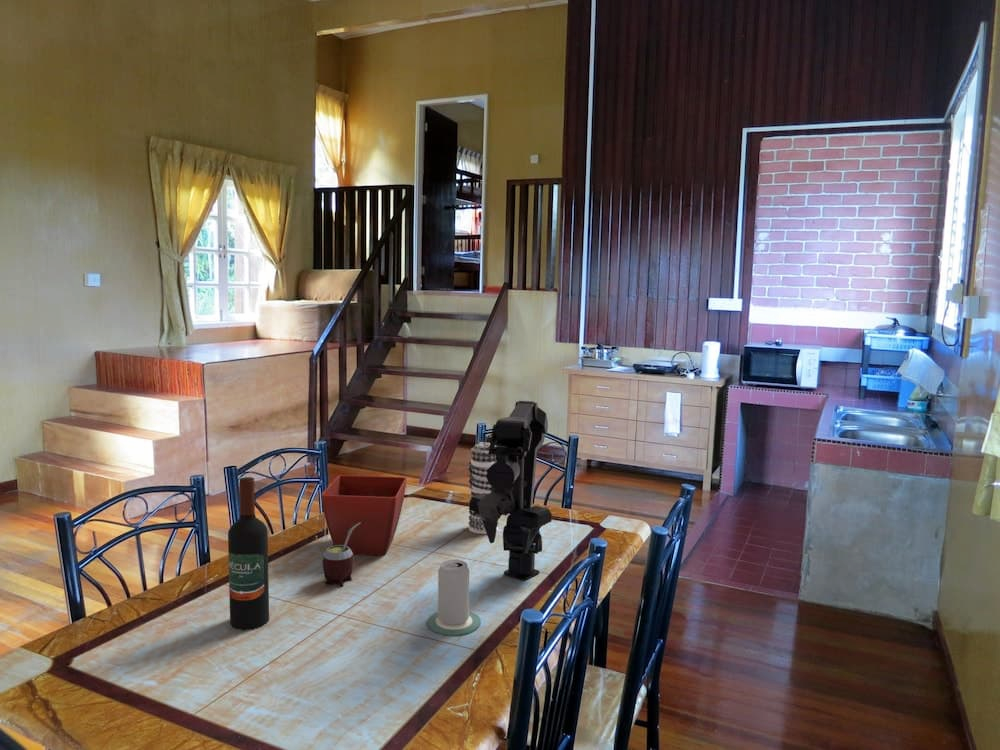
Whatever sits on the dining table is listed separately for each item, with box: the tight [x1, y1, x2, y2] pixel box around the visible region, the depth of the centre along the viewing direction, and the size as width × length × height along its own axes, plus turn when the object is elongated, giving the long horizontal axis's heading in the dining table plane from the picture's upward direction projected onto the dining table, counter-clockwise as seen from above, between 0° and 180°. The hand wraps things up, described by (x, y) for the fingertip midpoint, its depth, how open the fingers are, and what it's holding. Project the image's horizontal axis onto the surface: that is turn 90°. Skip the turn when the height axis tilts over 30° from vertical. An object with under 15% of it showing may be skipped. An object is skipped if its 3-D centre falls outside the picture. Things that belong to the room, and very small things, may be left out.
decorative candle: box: [468, 441, 499, 535], centre depth 205 cm, size 9×9×25 cm
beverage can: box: [437, 559, 470, 626], centre depth 148 cm, size 6×6×12 cm
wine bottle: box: [227, 476, 270, 631], centre depth 145 cm, size 8×8×30 cm
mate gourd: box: [322, 522, 361, 588], centre depth 167 cm, size 8×8×15 cm
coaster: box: [426, 610, 482, 637], centre depth 148 cm, size 11×11×1 cm
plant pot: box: [320, 474, 407, 556], centre depth 189 cm, size 19×19×17 cm
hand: (508, 547), depth 156 cm, fingers open, 9 cm apart
